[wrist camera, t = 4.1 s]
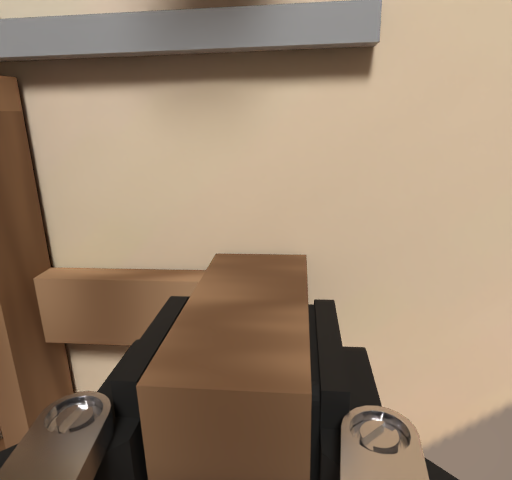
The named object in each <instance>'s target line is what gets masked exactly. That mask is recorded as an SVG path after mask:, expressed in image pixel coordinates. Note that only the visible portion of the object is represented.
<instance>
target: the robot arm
mask: <svg viewBox="0 0 512 480" xmlns="http://www.w3.org/2000/svg"><path fill="white" fill-rule="evenodd" d="M189 298H190V296H171V297H169V299H168V300H167V302H166V303H165V304H164V306H163V307H162V309H161V310H160V311H159V313H158V314H157V316H156V317H155V318H154V320H153V321H152V323H151V324H150V325H149V327H148V328H147V330H146V331H145V332H144V334H143V335H142V337H141V338H140V339H137V340H135V341H134V342H133V344H132V345H131V346H130V348H129V349H128V350H127V352H126V353H125V354H124V356H123V357H122V359H121V360H120V361H119V363H118V364H117V365H116V367H115V368H114V369H113V371H112V372H111V374H110V375H109V376H108V378H107V379H106V380H105V382H104V383H103V384H102V386H101V387H100V389H99V390H98V391H97V392H94V391H84V392H77V393H73V394H70V395H66V396H64V397H62V398H60V399H58V400H56V401H54V402H53V403H51V404H50V405H49V406H47V407H46V408H45V409H44V410H43V411H42V412H41V413H40V415H39V416H38V417H37V419H36V420H35V421H34V423H33V424H32V426H31V427H30V428H29V430H28V431H27V433H26V434H25V435H24V437H23V438H22V439H21V441H20V442H19V443H18V444H16V445H14V446H11V447H9V448H7V449H5V450H2V451H0V480H148V476H147V468H146V460H145V452H144V444H143V436H142V428H141V421H140V413H139V405H138V397H137V389H136V385H137V383H138V382H139V380H140V378H141V377H142V375H143V374H144V372H145V370H146V369H147V367H148V365H149V364H150V362H151V360H152V359H153V357H154V355H155V354H156V352H157V350H158V349H159V347H160V346H161V344H162V342H163V341H164V339H165V337H166V336H167V334H168V332H169V331H170V329H171V327H172V326H173V324H174V322H175V321H176V319H177V317H178V316H179V314H180V313H181V311H182V309H183V308H184V306H185V304H186V303H187V301H188V299H189ZM308 313H309V339H310V365H311V391H312V401H311V451H310V480H458V479H457V478H455V477H454V476H452V475H451V474H449V473H448V472H446V471H445V470H443V469H442V468H440V467H438V466H437V465H435V464H434V463H432V462H431V461H429V460H427V459H426V458H425V457H424V454H423V449H422V445H421V441H420V436H419V434H418V432H417V429H416V427H415V426H414V425H413V424H412V423H411V422H410V420H409V419H407V418H406V417H404V416H403V415H402V414H400V413H398V412H396V411H394V410H391V409H389V408H385V407H382V406H381V402H380V398H379V395H378V391H377V388H376V384H375V380H374V377H373V373H372V369H371V366H370V362H369V359H368V355H367V351H366V349H365V348H364V347H342V341H341V336H340V330H339V324H338V319H337V313H336V308H335V302H334V300H314V305H309V304H308Z"/></svg>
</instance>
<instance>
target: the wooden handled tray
mask: <svg viewBox="0 0 512 480" xmlns="http://www.w3.org/2000/svg"><path fill="white" fill-rule="evenodd" d="M171 296H190V298H189V299H188V301H187V303H186V304H185V306H184V308H183V309H182V311H181V313H180V314H179V316H178V317H177V319H176V321H175V322H174V324H173V326H172V327H171V329H170V331H169V332H168V334H167V336H166V337H165V339H164V341H163V342H162V344H161V346H160V347H159V349H158V350H157V352H156V354H155V355H154V357H153V359H152V360H151V362H150V364H149V365H148V367H147V369H146V370H145V372H144V374H143V375H142V377H141V378H140V380H139V382H138V383H137V385H136V389H137V397H138V405H139V413H140V421H141V428H142V436H143V444H144V452H145V460H146V468H147V476H148V480H310V451H311V401H312V391H311V365H310V339H309V313H308V287H307V261H306V255H270V254H216V255H215V256H214V258H213V260H212V261H211V263H210V265H209V266H208V268H207V270H156V269H97V268H51V266H50V261H49V255H48V250H47V244H46V239H45V233H44V227H43V222H42V216H41V211H40V205H39V200H38V194H37V189H36V183H35V178H34V172H33V167H32V161H31V156H30V150H29V145H28V139H27V134H26V128H25V123H24V117H23V111H22V106H21V100H20V95H19V89H18V84H17V78H16V77H8V76H1V75H0V427H1V431H2V435H3V438H0V451H2V450H5V449H7V448H9V447H11V446H14V445H16V444H18V443H19V442H20V441H21V439H22V438H23V437H24V435H25V434H26V433H27V431H28V430H29V428H30V427H31V426H32V424H33V423H34V421H35V420H36V419H37V417H38V416H39V415H40V413H41V412H42V411H43V410H44V409H45V408H46V407H47V406H49V405H50V404H51V403H53V402H54V401H56V400H58V399H60V398H62V397H64V396H66V395H70V394H73V388H72V382H71V377H70V371H69V366H68V360H67V355H66V349H65V343H77V344H104V345H130V346H131V345H132V344H133V342H134V341H135V340H137V339H140V338H141V337H142V335H143V334H144V332H145V331H146V330H147V328H148V327H149V325H150V324H151V323H152V321H153V320H154V318H155V317H156V316H157V314H158V313H159V311H160V310H161V309H162V307H163V306H164V304H165V303H166V302H167V300H168V299H169V297H171Z"/></svg>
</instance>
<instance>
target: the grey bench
mask: <svg viewBox="0 0 512 480" xmlns="http://www.w3.org/2000/svg"><path fill="white" fill-rule="evenodd" d="M381 7H382V0H351V1H332V2H313V3H294V4H275V5H256V6H237V7H218V8H199V9H180V10H161V11H142V12H123V13H104V14H85V15H66V16H47V17H28V18H9V19H0V62H1V61H26V60H50V59H75V58H100V57H124V56H149V55H174V54H198V53H223V52H247V51H272V50H297V49H321V48H346V47H371V46H375V45H376V44H377V43H378V42H379V41H380V24H381Z"/></svg>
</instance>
